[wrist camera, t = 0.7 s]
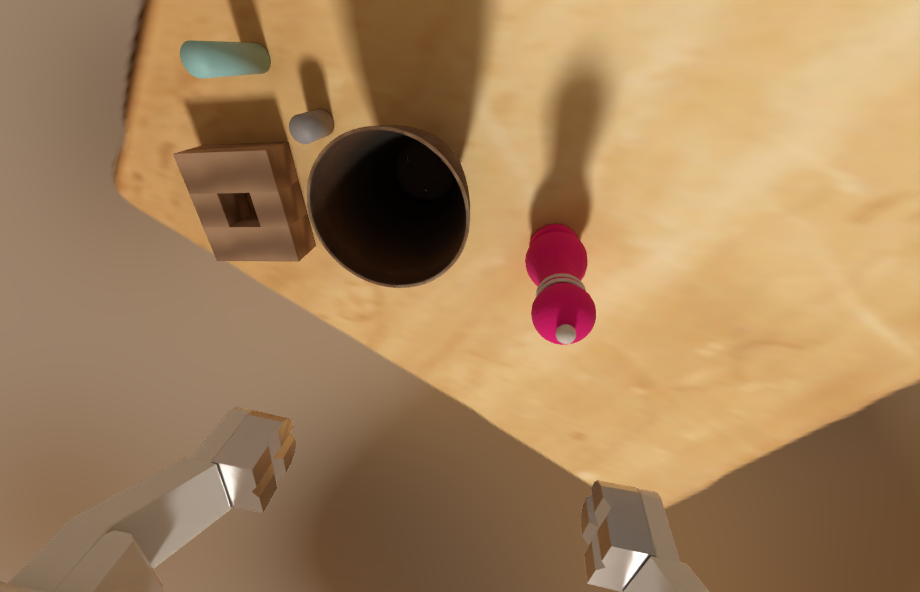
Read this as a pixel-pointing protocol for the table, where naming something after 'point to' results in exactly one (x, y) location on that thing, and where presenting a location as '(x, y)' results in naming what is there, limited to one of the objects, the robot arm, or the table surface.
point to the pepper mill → (559, 285)
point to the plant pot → (390, 204)
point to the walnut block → (227, 209)
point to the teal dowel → (224, 58)
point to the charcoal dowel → (311, 126)
